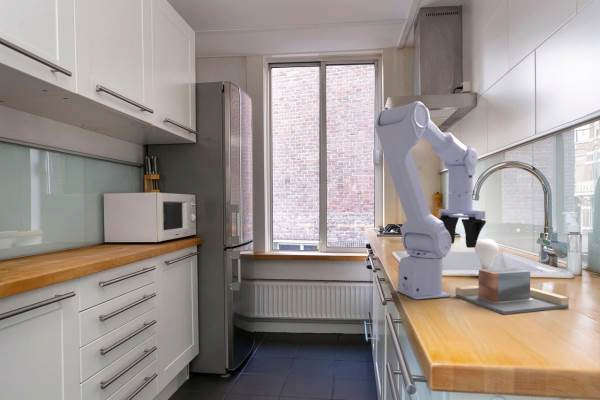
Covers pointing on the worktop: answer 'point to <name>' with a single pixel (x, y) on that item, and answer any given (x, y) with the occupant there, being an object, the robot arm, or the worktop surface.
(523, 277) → the painted block
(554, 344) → the worktop surface
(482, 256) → the lightbulb
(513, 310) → the tray
